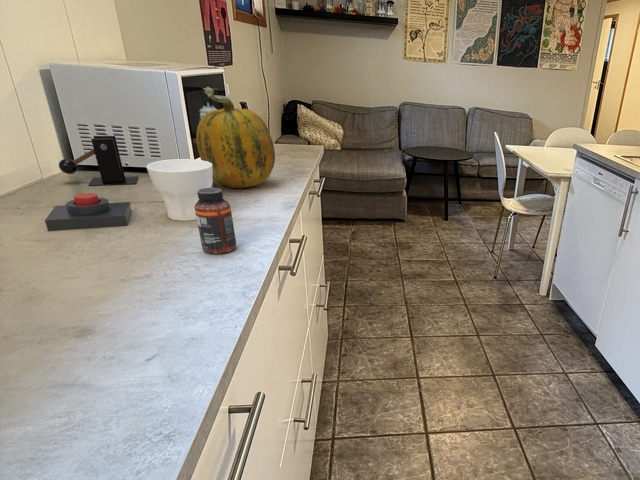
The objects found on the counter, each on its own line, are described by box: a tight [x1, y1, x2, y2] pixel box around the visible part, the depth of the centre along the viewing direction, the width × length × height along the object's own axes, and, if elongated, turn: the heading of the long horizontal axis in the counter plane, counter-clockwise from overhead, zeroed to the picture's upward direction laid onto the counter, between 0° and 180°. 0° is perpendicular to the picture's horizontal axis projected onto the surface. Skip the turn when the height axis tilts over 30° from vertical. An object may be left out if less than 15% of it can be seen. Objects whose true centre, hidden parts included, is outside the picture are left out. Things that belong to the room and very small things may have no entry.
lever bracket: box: [87, 135, 139, 187], centre depth 119 cm, size 10×8×12 cm
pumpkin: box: [195, 86, 276, 189], centre depth 124 cm, size 19×19×25 cm
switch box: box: [44, 197, 133, 232], centre depth 97 cm, size 13×10×4 cm
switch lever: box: [58, 137, 107, 175], centre depth 116 cm, size 13×4×4 cm
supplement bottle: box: [194, 187, 237, 255], centre depth 86 cm, size 6×6×11 cm
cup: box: [146, 158, 213, 222], centre depth 102 cm, size 12×12×11 cm
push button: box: [73, 192, 100, 205], centre depth 96 cm, size 4×4×2 cm
